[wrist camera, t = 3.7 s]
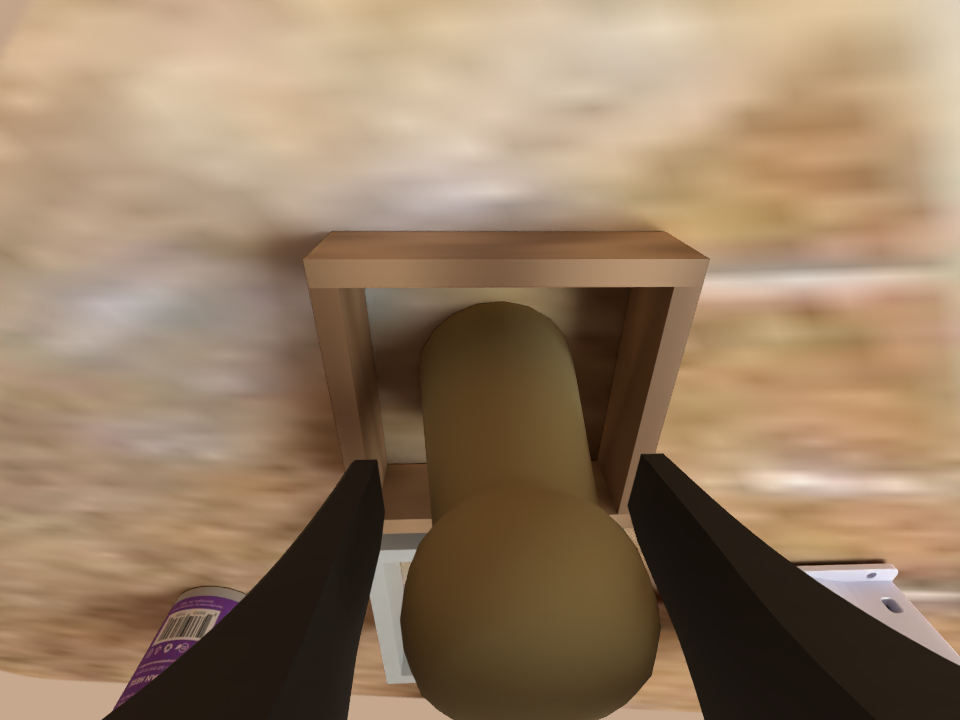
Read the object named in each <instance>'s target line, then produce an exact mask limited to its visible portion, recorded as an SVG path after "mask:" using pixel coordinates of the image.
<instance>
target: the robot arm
mask: <svg viewBox="0 0 960 720" xmlns="http://www.w3.org/2000/svg"><path fill="white" fill-rule="evenodd" d="M627 506H628V510H629V513H630V517H631V521H632V524H633V528H634V531H635V534H636V538H637V541H638V543H639V546H640V548H641V551H642V553H643V556H644V558H645V560H646V563H647V565H648V567H649V570H650V572H651V574H652V577H653V579H654V581H655V584H656V586H657V588H658V591H659V593H660V595H661V598H662V600H663V602H664V605H665V607H666V609H667V611H668V614H669V616H670V618H671V621H672V623H673V626H674V628H675V631H676V633H677V636H678V639H679V641H680V644H681V647H682V650H683V653H684V656H685V659H686V662H687V665H688V668H689V671H690V674H691V677H692V680H693V684H694V687H695V690H696V693H697V697H698V700H699V703H700V706H701V710H702V713H703V716H704V720H960V656H959V655H958V654H957V653H956V652H955V650H954V649H953V648H952V647H951V646H950V645H949V644H948V643H947V642H946V640H945V639H944V638H943V637H942V636H941V635H940V634H939V633H938V632H937V631H936V629H935V628H934V627H933V626H932V625H931V624H930V623H929V622H928V621H927V620H926V618H925V617H924V616H923V615H922V614H921V613H920V612H919V611H918V610H917V608H916V607H915V606H914V605H913V604H912V603H911V602H910V601H909V600H908V599H907V597H906V596H905V595H904V594H903V593H902V592H901V591H900V590H899V589H898V588H897V586H896V585H895V584H894V583H893V582H892V580H893V579H894V578H895V577H896V575H897V574H898V570H897V569H896V568H895V567H894V566H893V565H892V564H887V563H884V564H849V565H813V566H795V565H794V564H793V563H791V562H790V561H788V560H787V559H786V558H784V557H783V556H782V555H780V554H779V553H778V552H776V551H775V550H774V549H772V548H771V547H770V546H768V545H767V544H766V543H765V542H763V541H762V540H761V539H760V538H758V537H757V536H756V535H755V534H753V533H752V532H751V531H750V530H748V529H747V528H746V527H745V526H744V525H742V524H741V523H740V522H739V521H738V520H736V519H735V518H734V517H733V516H732V515H731V514H729V513H728V512H727V511H726V510H725V509H724V508H722V507H721V506H720V505H719V504H718V503H717V502H716V501H714V500H713V499H712V498H711V497H710V496H709V495H708V494H707V493H706V492H704V491H703V490H702V489H701V488H700V487H699V486H698V485H697V484H696V483H695V482H694V481H692V480H691V479H690V478H689V477H688V476H687V475H686V474H685V473H684V472H683V471H682V470H681V469H679V468H678V467H677V466H676V465H675V464H674V463H673V462H672V461H671V460H670V459H668V458H667V457H666V456H665V455H664V454H641V456H640V460H639V463H638V467H637V471H636V475H635V479H634V482H633V486H632V490H631V494H630V498H629V501H628V505H627ZM384 517H385V508H384V501H383V494H382V487H381V481H380V474H379V467H378V460H377V459H372V460H354V461H353V462H352V463H351V464H350V465H349V467H348V469H347V470H346V472H345V473H344V475H343V476H342V478H341V479H340V481H339V482H338V484H337V485H336V487H335V488H334V490H333V491H332V493H331V494H330V495H329V497H328V498H327V500H326V501H325V502H324V504H323V505H322V507H321V508H320V509H319V511H318V512H317V513H316V515H315V516H314V517H313V519H312V520H311V521H310V523H309V524H308V525H307V527H306V528H305V529H304V530H303V532H302V533H301V534H300V535H299V536H298V538H297V539H296V540H295V541H294V543H293V544H292V545H291V546H290V547H289V549H288V550H287V551H286V552H285V553H284V555H283V556H282V557H281V558H280V559H279V560H278V562H277V563H276V564H275V565H274V566H273V567H272V568H271V569H270V571H269V572H268V573H267V574H266V575H265V576H264V577H263V578H262V579H261V580H260V581H259V582H258V583H257V585H256V586H255V587H254V588H253V589H252V590H251V591H250V592H249V593H248V594H247V595H246V596H245V597H244V598H243V599H242V600H241V601H240V602H239V603H238V604H237V605H236V606H235V607H234V608H233V609H232V610H231V611H230V612H229V613H228V614H227V615H226V616H225V617H224V618H223V619H222V620H220V621H219V622H218V623H217V624H216V625H215V626H214V627H213V628H212V629H211V630H210V631H209V632H208V633H206V634H205V635H204V636H203V637H202V638H201V639H200V640H199V641H197V642H196V643H195V644H194V645H193V646H192V647H190V648H189V649H188V650H187V651H186V652H185V653H184V654H182V655H181V656H180V657H179V658H178V659H177V660H175V661H174V662H173V663H172V664H171V665H170V666H168V667H167V668H166V669H165V670H164V671H163V672H162V673H160V674H159V675H158V676H157V677H156V678H154V679H153V680H152V681H151V682H149V683H148V684H147V685H146V686H144V687H143V688H142V689H141V690H139V691H138V692H137V693H135V694H134V695H133V696H132V697H130V698H129V699H128V700H126V701H125V702H124V703H123V704H121V705H120V706H119V707H117V708H116V709H115V710H114V711H112V712H111V713H110V714H108V715H107V716H106V717H105V718H103V719H102V720H347V717H348V710H349V703H350V696H351V689H352V682H353V675H354V668H355V661H356V655H357V650H358V645H359V640H360V635H361V630H362V626H363V622H364V618H365V614H366V609H367V605H368V601H369V597H370V592H371V588H372V584H373V580H374V575H375V571H376V567H377V562H378V558H379V554H380V549H381V542H382V534H383V525H384Z"/></svg>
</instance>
